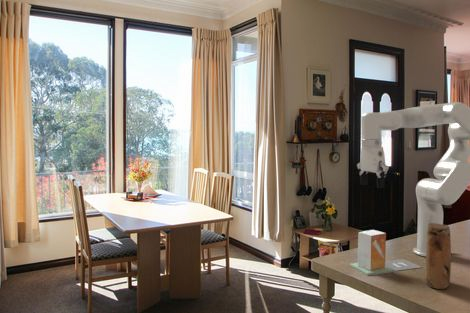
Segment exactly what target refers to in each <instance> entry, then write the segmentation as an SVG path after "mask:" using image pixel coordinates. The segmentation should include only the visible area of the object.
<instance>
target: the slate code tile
mask: <svg viewBox="0 0 470 313" xmlns="http://www.w3.org/2000/svg"><path fill="white" fill-rule="evenodd" d="M385 266H386V267H388V268H390V269H392V270H393V272H399V271H407V270H415V269H422V268H423V267H422V266H420V265H418V264H416V263H413V262H411V261H408V260H406V259H404V258H403V259H402V258H401V259H393V260H385Z"/></svg>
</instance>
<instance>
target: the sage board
mask: <svg viewBox="0 0 470 313" xmlns="http://www.w3.org/2000/svg"><path fill="white" fill-rule="evenodd" d="M349 267H351V268H353V269H355V270H357V271H359V272H360V273H362V274H363V275H365V276H373V275H382V274H389V273H393V272H394V270H392V269H390V268H388V267H386V266H385V267H384V268H379V269H375V270H371V271H370V270H367V269H365V268H362V267H359V266H358V262H353V263H349Z"/></svg>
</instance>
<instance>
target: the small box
mask: <svg viewBox="0 0 470 313" xmlns="http://www.w3.org/2000/svg"><path fill="white" fill-rule="evenodd" d="M386 242H387V233H386V232H383V231H379V230H375V229H369V230H363V231H359V232H358V234H357V263H358V266H359V267H362V268H365V269H367V270H370V271H371V270H375V269H379V268H384V267H385V261H386V246H387V244H386Z"/></svg>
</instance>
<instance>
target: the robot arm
mask: <svg viewBox="0 0 470 313" xmlns="http://www.w3.org/2000/svg"><path fill="white" fill-rule="evenodd" d="M360 121H361V126H360V127H361V129H360V130H361V149H360V162H358V163H357V164H356V167H357V171H358V173H359V176H360V185H361V186H367V185H369V178H368V177H369V175H368V173H375V174H376V176H377V177H376V188H377V189H382V188H385V187H386V186H385V178H386V176H387V175H388V171H389V166H388V165H387V164H386V158H385V157H386V156H385V151H384V150H385V149H384V147H383V146H382V144H383V141H382V140H383V139H382V131H396V130H398V129H404V128H406V129H407V128H410V129H416V128H424V127H432V126H440V125H446V124H447V125H448V124H449V126H448V128H447V134H448V138H449V147H448V149H447V150H446V152H445V153H444V154H443V156H442V157H441V158H440V160H438V162H437V163H436V165H435V166H434V168H433V175H434V177H435V178H431V177H430V178H429V177H427V178H422V179H421V180H419V181H418V182H417V184H416V187H415V195H416V202H417V235H416V236H417V237H416V238H417V240H416V241H417V243H416V246H415V247H413V249H412V252H413V253H414V254H415V255H417V256H420V257H426V247H427V229H428V224H429V223H437V224H441V225H444V210H443V205H444V206H450V205H453V204H454V203H456V202H457V200H458V199H460V197H461V196H462V194H463V193H464V192H465V191H466V190H467V188H468V187H469V185H470V162H469V161H468V160H469V158H470V142H469V141H470V106H468V105H467V104H465V103H463V102H461V101H456V102H455V101H454V102H447V103H438V104H429V105H428V104H427V105H422V106H414V107H408V108H405V109H399V110H389V111H381V112H365V113H363V114H361V118H360Z"/></svg>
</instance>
